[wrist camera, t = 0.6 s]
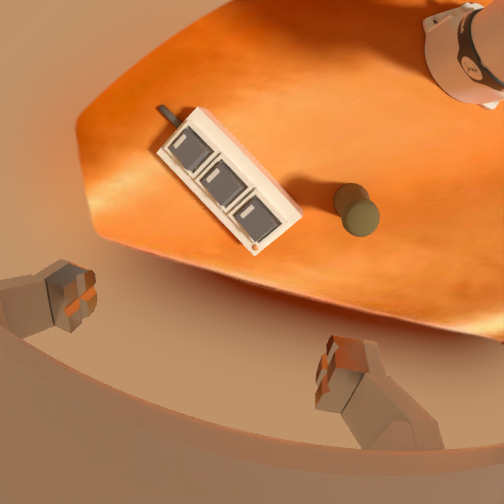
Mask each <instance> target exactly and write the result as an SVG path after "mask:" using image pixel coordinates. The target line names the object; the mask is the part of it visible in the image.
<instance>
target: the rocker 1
mask: <svg viewBox="0 0 504 504" xmlns="http://www.w3.org/2000/svg"><path fill="white" fill-rule="evenodd" d="M170 149H171V151H172V152H173V153H174V155H175V156H176V157H177V159H178V160H179V161H180V162H181V164H182V165H183V166H184V168H185V169H186V170H190V171H193V169H194V168H195V167H196V166H197V165H198V164H199V163H200V162H201V161H202V160H203V159H204V158H205V157H206V156H207V155H208V154H209V153H210V151H209V150H208V149H207V147H206V146H205V145H204V144H203V143H202V141H201V140H200V139H199V138H198V137H197V135H196V134H195V133H194V132H193V131H192V130H190V129H186V130H185V131H184V132H183V133H182V134H181V135H180V136H179V137H178V138H177V140H176V141H175V142H174V143H173V144H172V145H171V146H170Z"/></svg>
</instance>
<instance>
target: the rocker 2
mask: <svg viewBox="0 0 504 504" xmlns="http://www.w3.org/2000/svg"><path fill="white" fill-rule="evenodd" d="M201 182H202V183H203V184H204V185H205V187H206V188H207V189H208V191H209V192H210V193H211V194H212V196H213V197H214V198H215V200H216V201H217V202H218V203H219V205H220V206H225V205H226V204H227V203H228V202H229V201H231V200H232V199H233V198H234V197H235V196H236V195H237V194H238V193H239V192H240V191H241V190H242V189H243V188H244V186H243V185H242V184H241V183H240V182H239V180H238V179H237V178H236V177H235V175H234V174H233V173H232V172H231V171H230V169H229V168H228V167H227V166H226V165H225V163H219V164H218V165H217V166H216V167H215V168H214V169H213V170H212V171H211V172H210V173H209V174H208V175H207V176H206V177H205V178H204V179H203V180H202V181H201Z"/></svg>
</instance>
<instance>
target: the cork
mask: <svg viewBox="0 0 504 504" xmlns="http://www.w3.org/2000/svg"><path fill="white" fill-rule="evenodd" d="M334 207H335V210H336V212H337V213H338V214H339V215H340V216H341V220H342V223H343V226H344V228H345V229H346V231H347V232H349V233H350V234H352V235H354V236H357V237H364V236H368V235H370V234H371V233H373V232H374V231H375V229H376V228H377V226H378V224H379V216H380V215H379V211H378V208H377V207H376V205H375V204H374V203H373V202H372V201H370V198H369V195H368V193H367V191H366V190H365V189H364V188H363V187H362V186H360V185H358V184H350V183H349V184H346V185H343V186H342V187H340V188H339V189H338V190H337V192H336V193H335V196H334Z"/></svg>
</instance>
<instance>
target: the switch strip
mask: <svg viewBox="0 0 504 504" xmlns="http://www.w3.org/2000/svg"><path fill="white" fill-rule="evenodd" d="M159 111H160V112H161V113H162V114H163V115H164V116H165V117H166V118H167V119H168V120H169V121H170V122H171V123H172V124H173V125H174V126H175V127H176V128H177V130H176V131H175V132H174V133H173V134H172V135H171V136H170V138H169V139H168V140H167V141H166V142H165V143H164V145H163V146H162V147H161V148H160V149H159V151H158V152H157V154H158V155H159V156H160V157H161V158H162V159H163V160H164V162H165V163H166V164H167V165H168V166H169V167H170V168H171V169H172V170H173V171H174V172H175V173H176V174H177V175H178V176H179V177H180V178H181V179H182V180H183V182H184V183H185V184H186V185H187V186H188V187H189V188H190V189H191V190H192V191H193V192H194V193H195V194H196V195H197V196H198V197H199V198H200V199H201V201H202V202H203V203H204V204H205V205H206V206H207V207H208V208H209V209H210V210H211V211H212V212H213V213H214V214H215V215H216V216H217V217H218V218H219V219H220V221H221V222H222V223H223V224H224V225H225V226H226V227H227V228H228V229H229V230H230V231H231V232H232V233H233V234H234V235H235V236H236V237H237V238H238V239H239V240H240V242H241V243H242V244H243V245H244V246H245V247H246V248H247V249H248V250H249V251H250V252H251V253H252V254H253V255H254V256H256V255H257V254H258V253H259V252H260V251H262V250H263V249H264V248H265V247H266V246H268V245H269V244H270V243H271V242H273V241H274V240H275V239H276V238H277V237H279V236H280V235H281V234H282V233H283V232H285V231H286V230H287V229H288V228H289V227H291V226H292V225H293V224H294V223H296V222H297V221H298V220H299V219H300V218H302V216H303V210H302V208H301V207H300V206H299V205H298V204H297V203H296V202H295V201H294V199H293V198H292V197H291V196H290V195H289V194H288V193H287V192H286V191H285V190H284V188H283V187H282V186H281V185H280V184H279V183H278V182H277V181H276V180H275V179H274V178H273V177H272V175H271V174H270V173H269V172H268V171H267V170H266V169H265V168H264V167H263V166H262V165H261V164H260V163H259V162H258V161H257V159H256V158H255V157H254V156H253V155H252V154H251V153H250V152H249V151H248V150H247V149H246V148H245V147H244V146H243V145H242V144H241V143H240V142H239V141H238V140H237V139H236V138H235V137H234V136H233V135H232V134H231V133H230V132H229V131H228V130H227V129H226V128H225V127H224V126H223V125H222V124H221V123H220V122H219V121H218V120H217V119H216V118H215V117H214V116H213V115H212V114H211V113H210V112H209V111H208V110H207V109H206V108H201V107H197V108H196V109H195V110H194V111H193V112H192V113H191V114H190V115H189V116H188V117H187V119H186V120H185V121H184V122H183V123H182V122H181V121H180V120H179V119H178V118H177V117H176V116H175V115H174V114H173V113H172V112H171V111H170V110H169V109H168V108H167V107H166V106H165V105H161V106H160V107H159ZM186 129H190V130H192V131H193V132H194V133H195V134H196V135H197V137H198V138H199V139H200V140H201V141H202V143H203V144H204V145H205V146H206V147H207V149H208V150H209V151H210V153H209V154H208V155H207V156H206V157H205V158H204V159H203V160H202V161H201V162H200V163H199V164H198V165H197V166H196V167H195V168H194V169H193V171H190V170H186V169H185V168H184V166H183V165H182V164H181V162H180V161H179V160H178V159H177V157H176V156H175V155H174V153H173V152H172V151H171V149H170V146H171V145H172V144H173V143H174V142H175V141H176V140H177V138H178V137H179V136H180V135H181V134H182V133H183V132H184V131H185V130H186ZM219 163H225V165H226V166H227V167H228V168H229V169H230V171H231V172H232V173H233V174H234V175H235V177H236V178H237V179H238V180H239V182H240V183H241V184H242V185H243V186H244V188H243V189H242V190H241V191H240V192H239V193H238V194H237V195H236V196H235V197H234V198H233V199H232V200H231V201H229V202H228V203H227V204H226V205H225V206H220V205H219V203H218V202H217V201H216V200H215V198H214V197H213V196H212V194H211V193H210V192H209V191H208V189H207V188H206V187H205V185H204V184H203V183H202V182H201V181H202V180H203V179H204V178H205V177H206V176H207V175H208V174H209V173H210V172H211V171H212V170H213V169H214V168H215V167H216V166H217V165H218V164H219ZM254 199H259V201H260V202H261V203H262V204H263V205H264V207H265V208H266V209H267V210H268V212H269V213H270V214H271V215H272V217H273V218H274V219H275V220H276V222H277V223H278V225H277V226H275V227H274V228H273V229H272V230H271V231H270V232H268V233H267V234H266V235H265V236H264V237H262V238H261V239H260V240H259V241H257V242H254V241H253V239H252V238H251V237H250V235H249V234H248V233H247V232H246V230H245V229H244V228H243V226H242V225H241V224H240V223H239V221H238V220H237V219H236V217H235V216H236V215H237V214H238V213H239V212H240V211H241V210H243V209H244V208H245V207H246V206H247V205H248V204H249V203H250V202H251V201H252V200H254Z"/></svg>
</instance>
